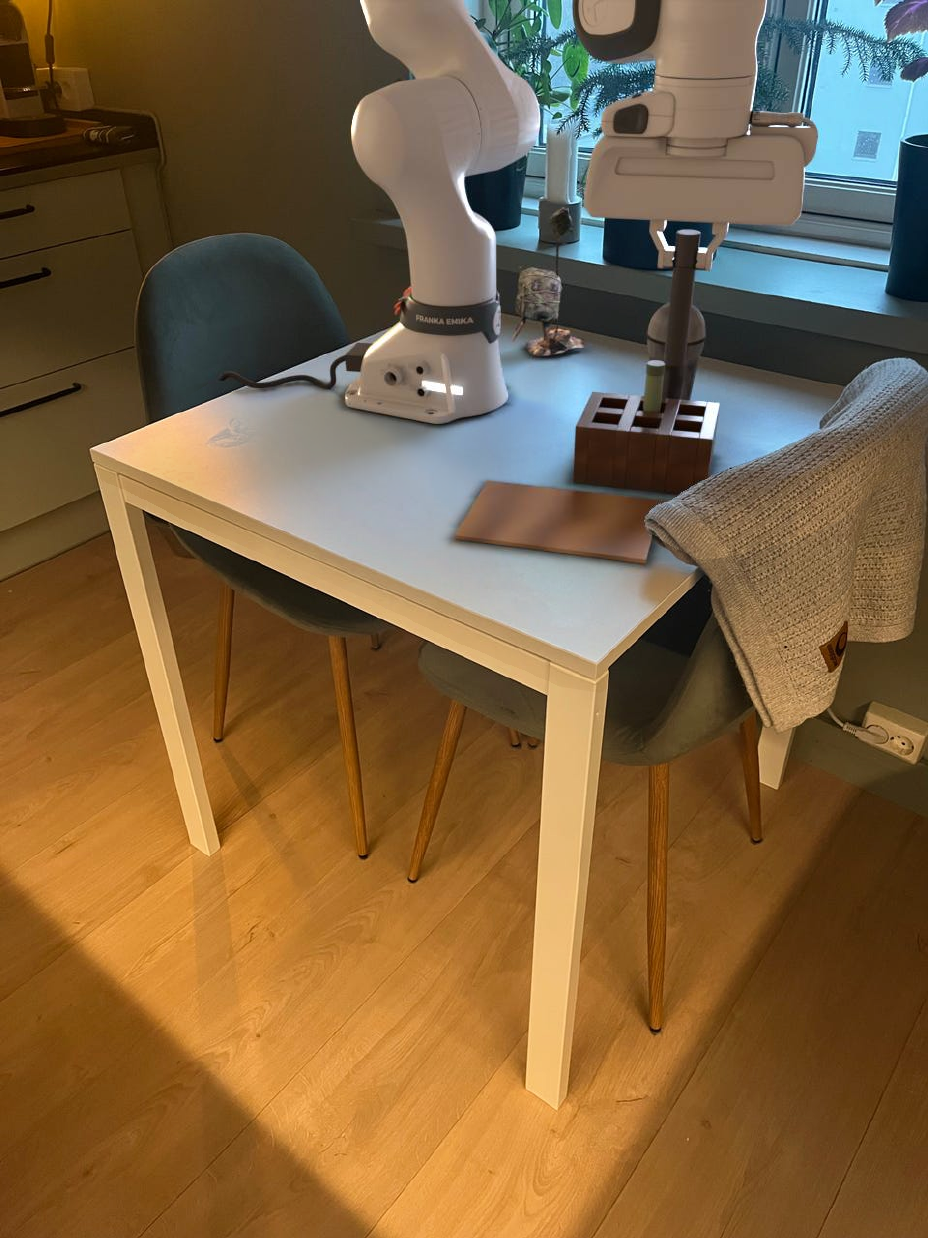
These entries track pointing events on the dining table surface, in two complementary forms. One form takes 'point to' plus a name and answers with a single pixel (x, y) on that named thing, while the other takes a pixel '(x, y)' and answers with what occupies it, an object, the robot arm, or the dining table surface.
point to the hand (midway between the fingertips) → (684, 268)
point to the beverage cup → (683, 377)
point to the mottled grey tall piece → (545, 298)
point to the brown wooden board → (560, 521)
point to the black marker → (681, 296)
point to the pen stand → (644, 443)
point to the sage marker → (653, 386)
